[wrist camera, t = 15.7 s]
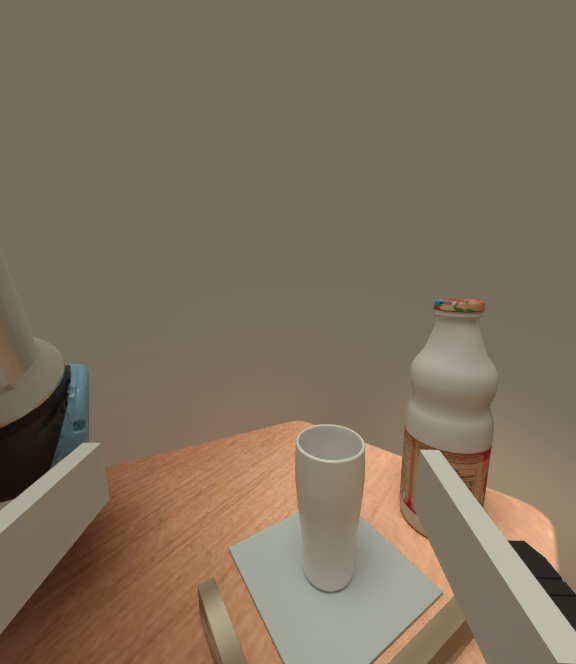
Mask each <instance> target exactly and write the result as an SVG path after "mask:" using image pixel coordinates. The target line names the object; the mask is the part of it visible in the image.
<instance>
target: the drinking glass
mask: <svg viewBox="0 0 576 664" xmlns="http://www.w3.org/2000/svg"><path fill="white" fill-rule="evenodd" d="M295 479H296V491H297V501H298V510H299V520H300V530H301V540H302V558H303V569H304V572H305V575H306V577H307V578H308V580H309V581H310V582H311V583H312V584H313V585H314V586H315V587H317V588H319V589H321V590H324V591H331V592H332V591H338V590H340V589H342V588H344V587H345V586H346V585H347V584H348V583H349V582H350V580H351V578H352V575H353V570H354V554H355V547H356V539H357V532H358V525H359V518H360V512H361V505H362V498H363V490H364V481H365V443H364V441H363V439H362V437H361V436H360V435H358V434H357V433H356V432H354V431H353V430H351V429H348V428H345V427H342V426H338V425H329V424H325V425H324V424H323V425H315V426H311V427H309V428H306V429H304V430H303V431H302V432H300V433H299V435H298V436H297V438H296V450H295Z"/></svg>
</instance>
